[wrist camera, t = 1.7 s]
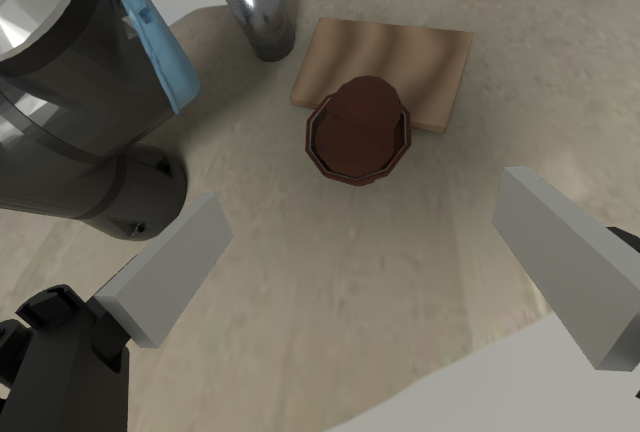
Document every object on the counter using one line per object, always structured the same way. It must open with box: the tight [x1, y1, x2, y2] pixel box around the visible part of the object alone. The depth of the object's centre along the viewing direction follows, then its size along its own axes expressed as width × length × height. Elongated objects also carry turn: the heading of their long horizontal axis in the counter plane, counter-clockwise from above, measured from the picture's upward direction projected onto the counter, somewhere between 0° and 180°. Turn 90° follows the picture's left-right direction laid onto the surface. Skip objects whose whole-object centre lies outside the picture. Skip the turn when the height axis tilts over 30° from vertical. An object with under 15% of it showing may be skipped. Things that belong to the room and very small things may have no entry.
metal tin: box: [226, 0, 295, 62], centre depth 39 cm, size 7×7×10 cm
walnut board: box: [289, 18, 473, 133], centre depth 38 cm, size 22×14×2 cm, turn 71°
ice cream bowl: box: [305, 75, 411, 186], centre depth 29 cm, size 11×11×15 cm
